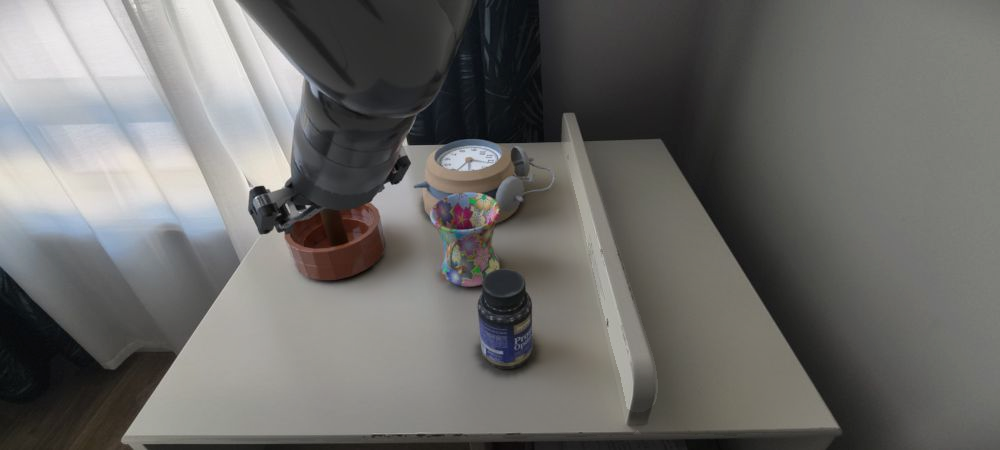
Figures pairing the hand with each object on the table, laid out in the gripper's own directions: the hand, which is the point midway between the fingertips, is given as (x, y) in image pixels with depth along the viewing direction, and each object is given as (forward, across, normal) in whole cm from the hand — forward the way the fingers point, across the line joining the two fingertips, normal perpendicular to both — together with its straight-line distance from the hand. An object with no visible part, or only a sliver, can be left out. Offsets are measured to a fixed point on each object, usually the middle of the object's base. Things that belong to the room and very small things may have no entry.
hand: (325, 209), depth 51 cm
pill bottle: (+4, -12, +23) cm, 27 cm away
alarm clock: (+23, -31, +4) cm, 39 cm away
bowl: (+25, -5, +1) cm, 26 cm away
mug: (+13, -17, +14) cm, 25 cm away
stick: (+25, -5, +1) cm, 25 cm away
